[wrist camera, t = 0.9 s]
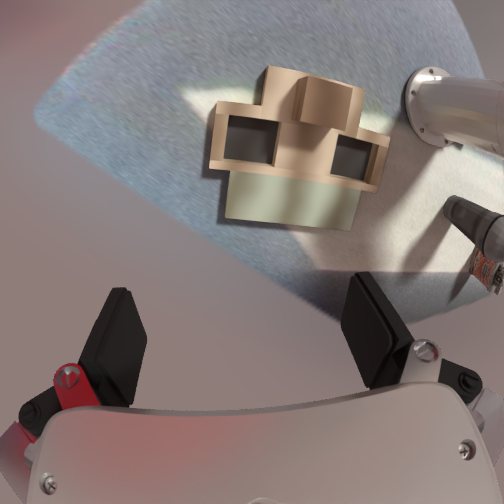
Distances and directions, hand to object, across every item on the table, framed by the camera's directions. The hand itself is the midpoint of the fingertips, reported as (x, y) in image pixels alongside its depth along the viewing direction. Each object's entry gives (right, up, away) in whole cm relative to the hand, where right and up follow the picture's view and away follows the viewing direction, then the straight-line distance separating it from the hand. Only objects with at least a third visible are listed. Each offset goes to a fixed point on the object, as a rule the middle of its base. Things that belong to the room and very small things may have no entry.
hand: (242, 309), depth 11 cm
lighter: (+49, +1, +34) cm, 59 cm away
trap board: (+7, +15, +21) cm, 27 cm away
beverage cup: (+35, +10, +27) cm, 46 cm away
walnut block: (+8, +19, +17) cm, 27 cm away
